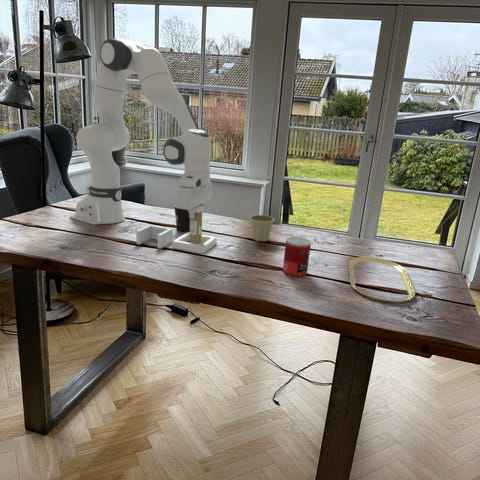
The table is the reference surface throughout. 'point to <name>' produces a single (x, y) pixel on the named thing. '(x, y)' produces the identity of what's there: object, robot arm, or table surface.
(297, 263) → the canned food
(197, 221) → the sprinkles bottle
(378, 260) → the gold ring
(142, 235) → the bracket
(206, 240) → the block
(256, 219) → the flower pot
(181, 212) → the dark brown cup
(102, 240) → the table surface
